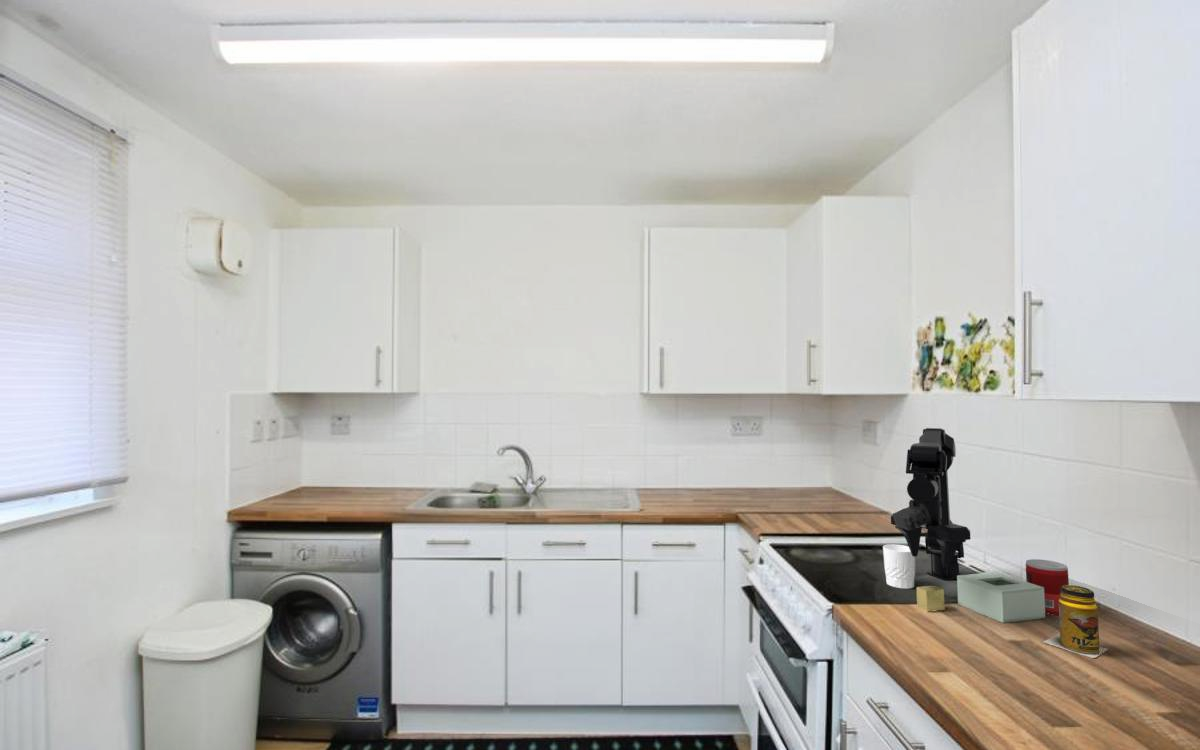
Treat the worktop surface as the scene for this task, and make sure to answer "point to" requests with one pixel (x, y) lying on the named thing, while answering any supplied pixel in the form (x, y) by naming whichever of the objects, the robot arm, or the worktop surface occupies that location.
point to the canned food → (1048, 580)
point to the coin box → (1001, 597)
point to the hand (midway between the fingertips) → (929, 561)
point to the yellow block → (930, 598)
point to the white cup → (899, 566)
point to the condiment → (1078, 622)
